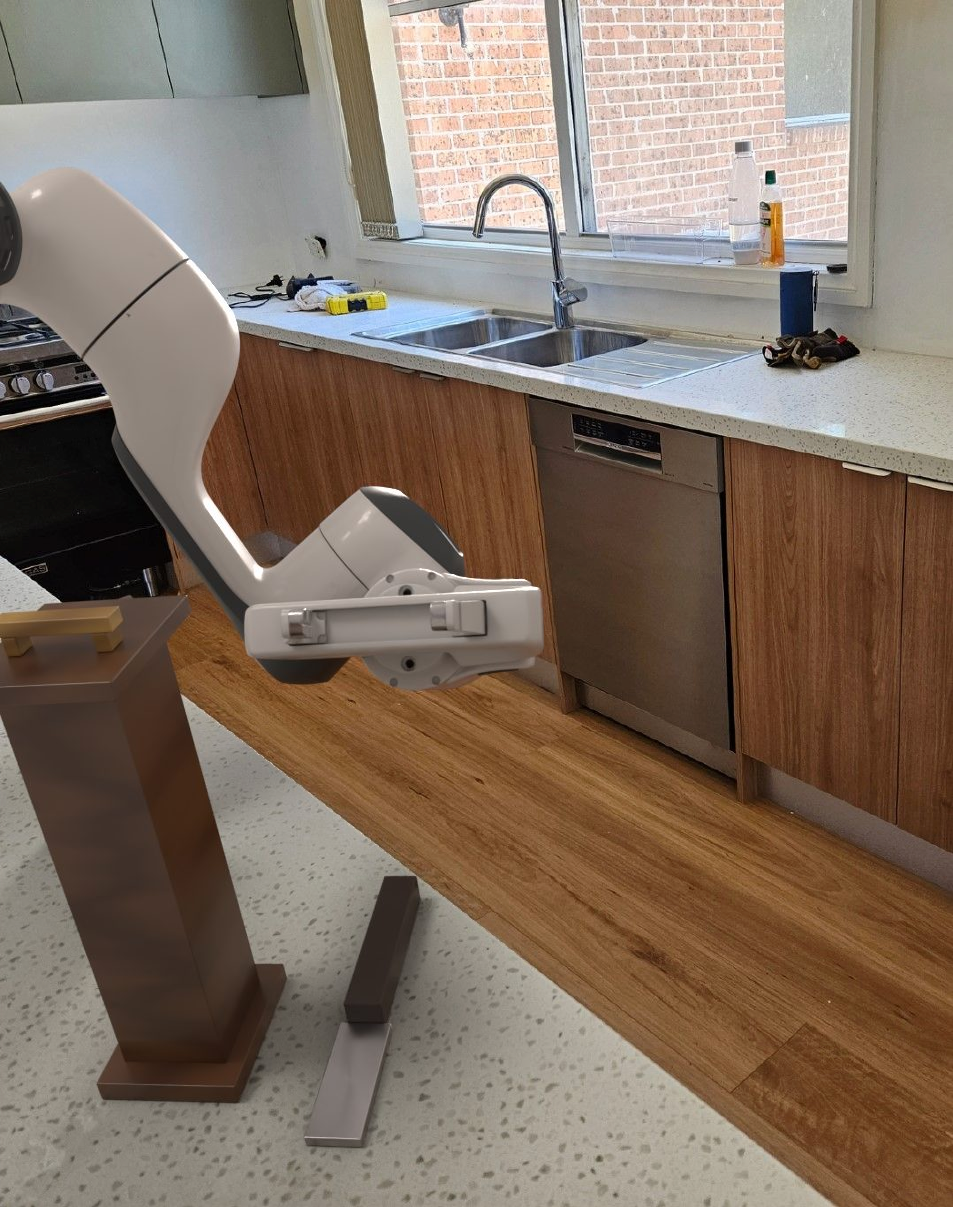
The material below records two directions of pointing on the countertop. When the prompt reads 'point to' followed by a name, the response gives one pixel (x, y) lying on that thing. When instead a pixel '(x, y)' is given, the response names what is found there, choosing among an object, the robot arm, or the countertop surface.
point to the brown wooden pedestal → (136, 844)
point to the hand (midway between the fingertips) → (365, 619)
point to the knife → (365, 1021)
